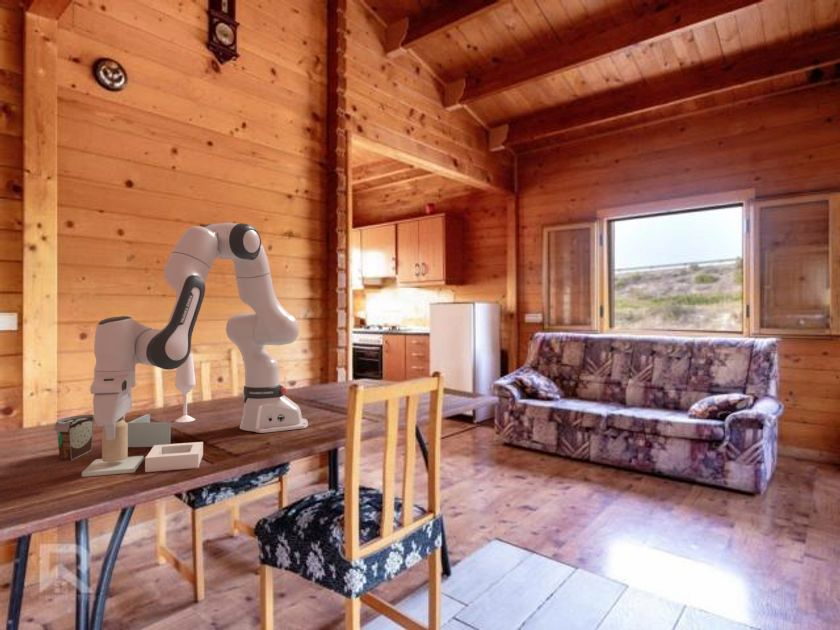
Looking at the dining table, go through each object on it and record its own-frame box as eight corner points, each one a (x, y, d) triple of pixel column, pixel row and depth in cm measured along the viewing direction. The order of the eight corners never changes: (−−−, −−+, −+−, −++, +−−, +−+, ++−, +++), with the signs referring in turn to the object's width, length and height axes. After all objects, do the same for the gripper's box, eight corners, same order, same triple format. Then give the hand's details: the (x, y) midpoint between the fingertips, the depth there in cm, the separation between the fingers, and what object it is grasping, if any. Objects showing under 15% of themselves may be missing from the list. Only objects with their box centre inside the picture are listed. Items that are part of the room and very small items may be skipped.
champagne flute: (172, 422, 174) (173, 354, 174) (177, 418, 180) (177, 352, 180) (193, 421, 175) (193, 354, 175) (197, 417, 182) (197, 352, 182)
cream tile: (143, 459, 132) (143, 455, 132) (134, 472, 121) (134, 468, 121) (95, 463, 128) (95, 459, 128) (81, 476, 118) (81, 472, 118)
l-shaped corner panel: (169, 448, 144) (169, 422, 144) (126, 448, 143) (126, 423, 143) (185, 438, 156) (185, 414, 156) (146, 438, 155) (146, 414, 155)
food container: (72, 449, 140) (72, 414, 140) (94, 449, 141) (94, 414, 141) (42, 462, 128) (42, 424, 128) (67, 462, 128) (67, 424, 128)
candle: (115, 462, 121) (115, 422, 121) (96, 461, 123) (96, 421, 122) (132, 456, 127) (132, 417, 127) (114, 455, 128) (114, 416, 128)
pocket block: (202, 454, 137) (203, 441, 137) (198, 467, 125) (198, 453, 125) (154, 458, 133) (154, 445, 133) (145, 472, 121) (145, 457, 121)
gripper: (111, 376, 133) (111, 427, 133) (87, 387, 114) (87, 447, 114) (138, 375, 135) (138, 425, 135) (119, 386, 116) (119, 445, 116)
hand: (115, 435), depth 125 cm, fingers closed on candle, 5 cm apart
